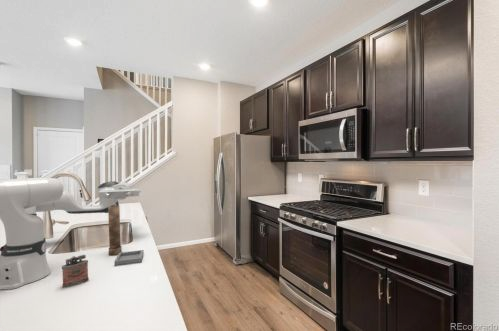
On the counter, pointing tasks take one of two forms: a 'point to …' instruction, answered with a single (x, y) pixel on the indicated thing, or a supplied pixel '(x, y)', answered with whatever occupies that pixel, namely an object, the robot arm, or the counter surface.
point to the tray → (129, 257)
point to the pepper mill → (114, 230)
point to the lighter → (75, 271)
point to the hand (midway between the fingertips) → (117, 195)
